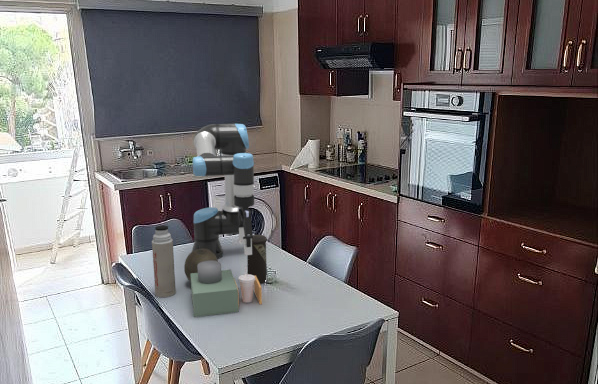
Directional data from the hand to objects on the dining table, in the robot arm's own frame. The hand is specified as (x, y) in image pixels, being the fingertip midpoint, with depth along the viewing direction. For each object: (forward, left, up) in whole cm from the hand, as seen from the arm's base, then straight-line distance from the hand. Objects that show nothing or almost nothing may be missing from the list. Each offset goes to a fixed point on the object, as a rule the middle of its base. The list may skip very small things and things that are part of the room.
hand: (245, 248), depth 188 cm
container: (-17, +7, -21) cm, 28 cm away
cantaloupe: (-20, -16, -21) cm, 33 cm away
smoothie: (+1, 0, -21) cm, 21 cm away
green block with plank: (0, -8, -21) cm, 22 cm away
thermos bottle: (-14, -31, -21) cm, 40 cm away
